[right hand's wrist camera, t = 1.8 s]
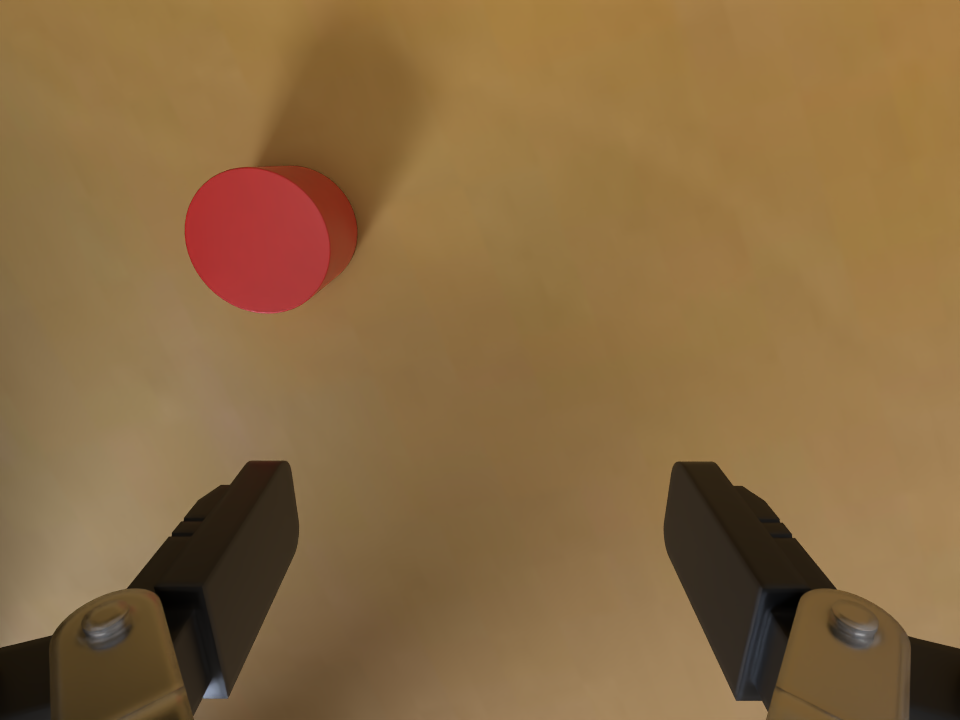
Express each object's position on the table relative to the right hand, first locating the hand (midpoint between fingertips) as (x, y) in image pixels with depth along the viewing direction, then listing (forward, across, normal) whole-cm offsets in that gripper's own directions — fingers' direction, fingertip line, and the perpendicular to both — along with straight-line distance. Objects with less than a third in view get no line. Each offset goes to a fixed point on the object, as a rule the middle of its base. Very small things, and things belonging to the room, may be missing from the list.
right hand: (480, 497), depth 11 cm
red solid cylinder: (+13, +7, -4) cm, 16 cm away
